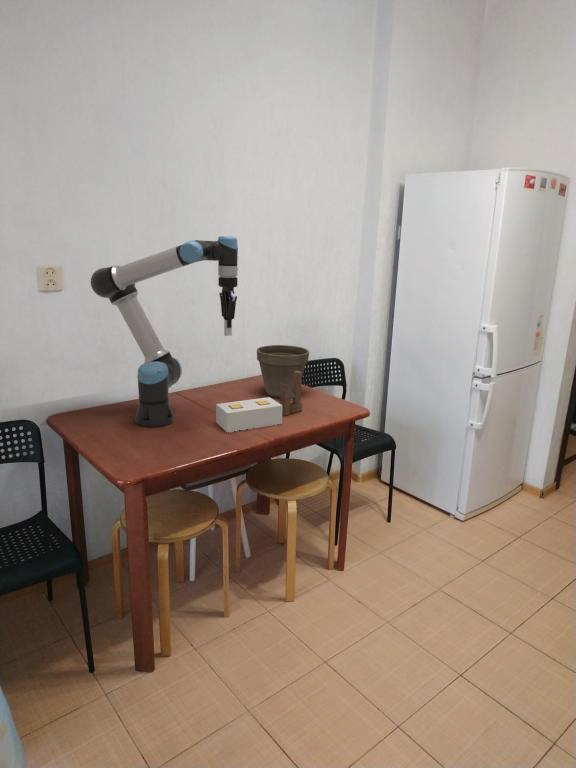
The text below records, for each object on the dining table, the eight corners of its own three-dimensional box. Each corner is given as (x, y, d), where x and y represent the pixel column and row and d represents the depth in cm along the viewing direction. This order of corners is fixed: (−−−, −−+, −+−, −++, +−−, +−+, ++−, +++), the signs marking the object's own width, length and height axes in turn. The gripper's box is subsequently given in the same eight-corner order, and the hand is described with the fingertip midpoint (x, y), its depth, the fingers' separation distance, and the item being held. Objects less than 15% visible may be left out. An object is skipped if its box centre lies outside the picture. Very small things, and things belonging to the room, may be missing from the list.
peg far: (260, 421, 219) (260, 404, 217) (256, 418, 222) (256, 401, 220) (268, 420, 221) (269, 403, 219) (264, 417, 224) (265, 400, 222)
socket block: (227, 432, 208) (227, 413, 206) (216, 422, 218) (216, 404, 216) (281, 423, 219) (282, 405, 217) (268, 414, 230) (269, 397, 227)
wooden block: (278, 414, 231) (279, 373, 226) (296, 409, 238) (297, 369, 233) (284, 416, 228) (285, 375, 223) (302, 411, 236) (303, 371, 231)
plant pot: (288, 383, 277) (289, 342, 271) (317, 396, 257) (319, 352, 251) (246, 390, 263) (247, 347, 257) (273, 404, 244) (275, 357, 238)
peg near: (232, 426, 213) (233, 408, 211) (229, 422, 217) (229, 405, 215) (242, 424, 215) (242, 407, 213) (238, 421, 219) (238, 404, 216)
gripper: (243, 278, 208) (242, 337, 215) (230, 275, 219) (230, 331, 226) (225, 278, 204) (225, 339, 211) (213, 275, 215) (213, 333, 222)
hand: (228, 335), depth 218 cm, fingers closed
